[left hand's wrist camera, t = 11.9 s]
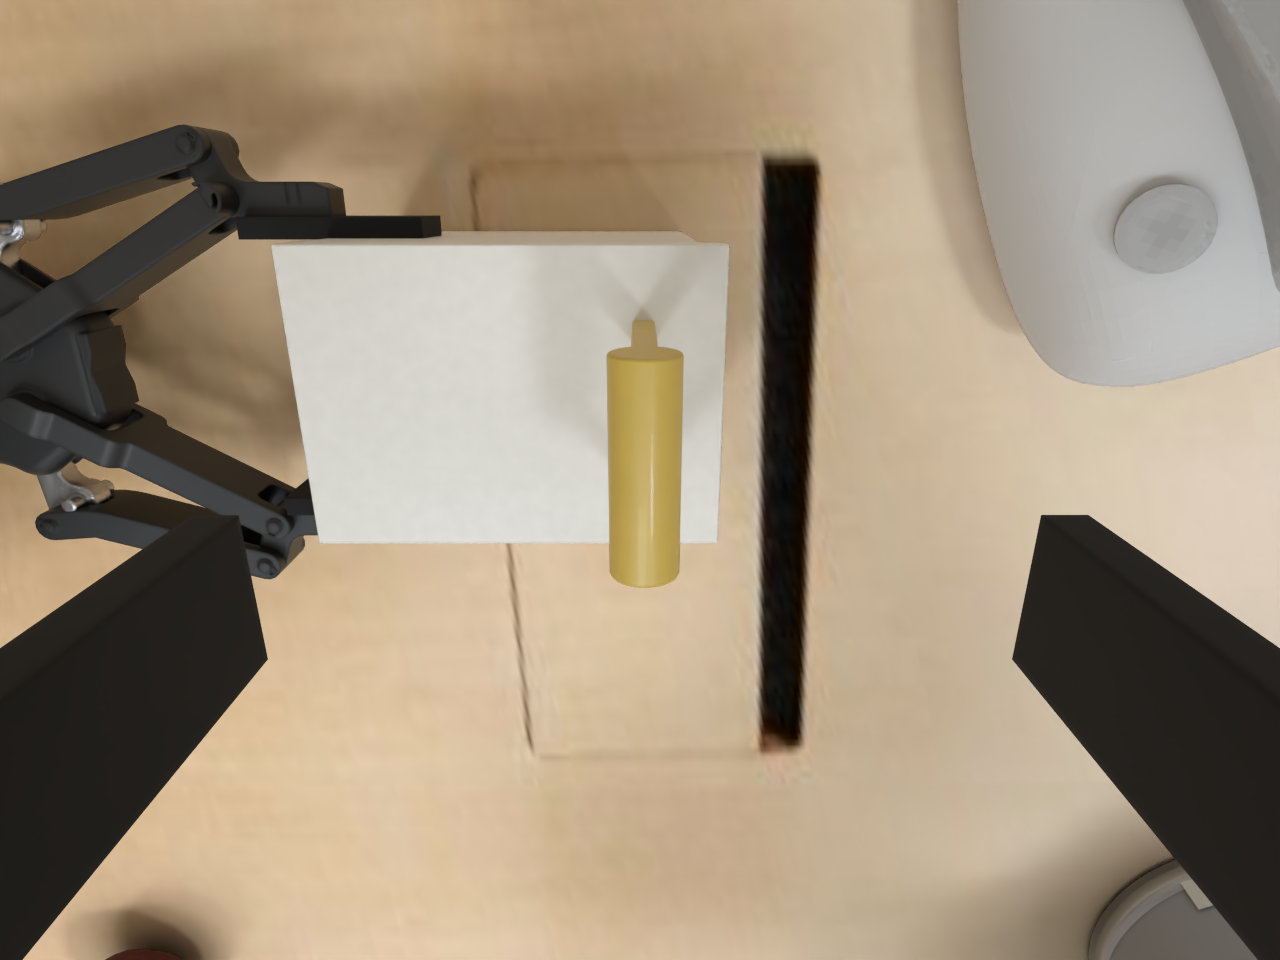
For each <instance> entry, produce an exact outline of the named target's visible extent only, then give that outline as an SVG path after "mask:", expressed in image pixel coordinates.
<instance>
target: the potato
mask: <svg viewBox="0 0 1280 960" xmlns="http://www.w3.org/2000/svg"><path fill="white" fill-rule="evenodd" d="M106 960H182V959H180V958H179V957H177V956H176V955H174V954H172V953H168V952H163V951H158V950H153V949H134V950H127V951H124V952H121V953H118V954H115V955H113V956H111V957H109V958H108V959H106Z"/></svg>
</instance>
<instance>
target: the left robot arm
mask: <svg viewBox="0 0 1280 960" xmlns="http://www.w3.org/2000/svg"><path fill="white" fill-rule="evenodd" d="M267 660H268V658H267V653H266V648H265V643H264V638H263V633H262V628H261V623H260V618H259V613H258V608H257V603H256V598H255V594H254V589H253V584H252V579H251V574H250V569H249V564H248V559H247V554H246V549H245V544H244V539H243V534H242V529H241V524H240V519H239V515H191V516H190V517H188V518H187V519H186V520H184V521H183V522H181V523H180V524H178V525H177V526H175V527H174V528H173V529H171V530H170V531H168V532H167V533H165V534H164V535H163V536H161V537H160V538H158V539H157V540H155V541H154V542H152V543H151V544H150V545H148V546H147V547H145V548H144V549H142V550H141V551H140V552H138V553H137V554H135V555H134V556H132V557H131V558H129V559H128V560H127V561H125V562H124V563H122V564H121V565H119V566H118V567H117V568H115V569H114V570H112V571H111V572H109V573H108V574H106V575H105V576H104V577H102V578H101V579H99V580H98V581H96V582H95V583H93V584H92V585H91V586H89V587H88V588H86V589H85V590H83V591H82V592H81V593H79V594H78V595H76V596H75V597H73V598H72V599H70V600H69V601H68V602H66V603H65V604H63V605H62V606H60V607H59V608H58V609H56V610H55V611H53V612H52V613H50V614H49V615H47V616H46V617H45V618H43V619H42V620H40V621H39V622H37V623H36V624H35V625H33V626H32V627H30V628H29V629H27V630H26V631H24V632H23V633H22V634H20V635H19V636H17V637H16V638H14V639H13V640H12V641H10V642H9V643H7V644H6V645H4V646H3V647H1V648H0V960H23V958H24V957H25V956H26V955H27V953H28V952H29V951H30V950H31V949H32V947H33V946H34V945H35V944H36V942H37V941H38V940H39V939H40V937H41V936H42V935H43V934H44V933H45V931H46V930H47V929H48V928H49V926H50V925H51V924H52V923H53V922H54V920H55V919H56V918H57V917H58V915H59V914H60V913H61V912H62V911H63V909H64V908H65V907H66V906H67V904H68V903H69V902H70V901H71V900H72V898H73V897H74V896H75V895H76V893H77V892H78V891H79V890H80V889H81V887H82V886H83V885H84V884H85V882H86V881H87V880H88V879H89V878H90V876H91V875H92V874H93V873H94V871H95V870H96V869H97V868H98V866H99V865H100V864H101V863H102V862H103V860H104V859H105V858H106V857H107V855H108V854H109V853H110V852H111V851H112V849H113V848H114V847H115V846H116V844H117V843H118V842H119V841H120V840H121V838H122V837H123V836H124V835H125V833H126V832H127V831H128V830H129V829H130V827H131V826H132V825H133V824H134V822H135V821H136V820H137V819H138V818H139V816H140V815H141V814H142V813H143V811H144V810H145V809H146V808H147V807H148V805H149V804H150V803H151V802H152V800H153V799H154V798H155V797H156V795H157V794H158V793H159V792H160V791H161V789H162V788H163V787H164V786H165V784H166V783H167V782H168V781H169V780H170V778H171V777H172V776H173V775H174V773H175V772H176V771H177V770H178V769H179V767H180V766H181V765H182V764H183V762H184V761H185V760H186V759H187V758H188V756H189V755H190V754H191V753H192V751H193V750H194V749H195V748H196V747H197V745H198V744H199V743H200V742H201V740H202V739H203V738H204V737H205V735H206V734H207V733H208V732H209V731H210V729H211V728H212V727H213V726H214V724H215V723H216V722H217V721H218V720H219V718H220V717H221V716H222V715H223V713H224V712H225V711H226V710H227V709H228V707H229V706H230V705H231V704H232V702H233V701H234V700H235V699H236V698H237V696H238V695H239V694H240V693H241V691H242V690H243V689H244V688H245V687H246V685H247V684H248V683H249V682H250V680H251V679H252V678H253V677H254V676H255V674H256V673H257V672H258V671H259V669H260V668H261V667H262V666H263V664H264V663H265V662H266V661H267ZM1012 660H1013V661H1014V662H1015V663H1016V664H1017V666H1018V667H1019V668H1020V669H1021V671H1022V672H1023V673H1024V674H1025V676H1026V677H1027V678H1028V679H1029V680H1030V682H1031V683H1032V684H1033V685H1034V687H1035V688H1036V689H1037V690H1038V691H1039V693H1040V694H1041V695H1042V696H1043V698H1044V699H1045V700H1046V701H1047V702H1048V704H1049V705H1050V706H1051V707H1052V709H1053V710H1054V711H1055V712H1056V713H1057V715H1058V716H1059V717H1060V718H1061V720H1062V721H1063V722H1064V723H1065V724H1066V726H1067V727H1068V728H1069V729H1070V731H1071V732H1072V733H1073V734H1074V735H1075V737H1076V738H1077V739H1078V740H1079V742H1080V743H1081V744H1082V745H1083V747H1084V748H1085V749H1086V750H1087V751H1088V753H1089V754H1090V755H1091V756H1092V758H1093V759H1094V760H1095V761H1096V762H1097V764H1098V765H1099V766H1100V767H1101V769H1102V770H1103V771H1104V772H1105V773H1106V775H1107V776H1108V777H1109V778H1110V780H1111V781H1112V782H1113V783H1114V784H1115V786H1116V787H1117V788H1118V789H1119V791H1120V792H1121V793H1122V794H1123V795H1124V797H1125V798H1126V799H1127V800H1128V802H1129V803H1130V804H1131V805H1132V807H1133V808H1134V809H1135V810H1136V811H1137V813H1138V814H1139V815H1140V816H1141V818H1142V819H1143V820H1144V821H1145V822H1146V824H1147V825H1148V826H1149V827H1150V829H1151V830H1152V831H1153V832H1154V833H1155V835H1156V836H1157V837H1158V838H1159V840H1160V841H1161V842H1162V843H1163V844H1164V846H1165V847H1166V848H1167V849H1168V851H1169V852H1170V853H1171V854H1172V855H1173V857H1174V858H1175V859H1176V860H1174V861H1171V862H1169V863H1167V864H1164V865H1162V866H1160V867H1158V868H1156V869H1154V870H1152V871H1151V872H1149V873H1147V874H1145V875H1144V876H1142V877H1141V878H1139V879H1138V880H1136V881H1135V882H1133V883H1132V884H1131V885H1130V886H1128V887H1127V888H1126V889H1125V890H1123V891H1122V892H1121V893H1120V894H1119V895H1118V896H1117V897H1116V898H1115V899H1114V900H1113V901H1112V902H1111V903H1110V904H1109V906H1108V907H1107V908H1106V910H1105V911H1104V912H1103V914H1102V915H1101V917H1100V919H1099V920H1098V922H1097V924H1096V926H1095V928H1094V931H1093V933H1092V936H1091V940H1090V945H1089V960H1280V648H1279V647H1277V646H1276V645H1274V644H1273V643H1271V642H1270V641H1268V640H1267V639H1266V638H1264V637H1263V636H1261V635H1260V634H1258V633H1257V632H1256V631H1254V630H1253V629H1251V628H1250V627H1248V626H1247V625H1245V624H1244V623H1243V622H1241V621H1240V620H1238V619H1237V618H1235V617H1234V616H1233V615H1231V614H1230V613H1228V612H1227V611H1225V610H1224V609H1222V608H1221V607H1220V606H1218V605H1217V604H1215V603H1214V602H1212V601H1211V600H1210V599H1208V598H1207V597H1205V596H1204V595H1202V594H1201V593H1199V592H1198V591H1197V590H1195V589H1194V588H1192V587H1191V586H1189V585H1188V584H1187V583H1185V582H1184V581H1182V580H1181V579H1179V578H1178V577H1176V576H1175V575H1174V574H1172V573H1171V572H1169V571H1168V570H1166V569H1165V568H1163V567H1162V566H1161V565H1159V564H1158V563H1156V562H1155V561H1153V560H1152V559H1151V558H1149V557H1148V556H1146V555H1145V554H1143V553H1142V552H1140V551H1139V550H1138V549H1136V548H1135V547H1133V546H1132V545H1130V544H1129V543H1128V542H1126V541H1125V540H1123V539H1122V538H1120V537H1119V536H1117V535H1116V534H1115V533H1113V532H1112V531H1110V530H1109V529H1107V528H1106V527H1105V526H1103V525H1102V524H1100V523H1099V522H1097V521H1096V520H1094V519H1093V518H1092V517H1090V516H1089V515H1041V519H1040V524H1039V529H1038V534H1037V539H1036V544H1035V549H1034V554H1033V559H1032V564H1031V569H1030V574H1029V579H1028V584H1027V589H1026V594H1025V598H1024V603H1023V608H1022V613H1021V618H1020V623H1019V628H1018V633H1017V638H1016V643H1015V648H1014V653H1013V658H1012Z"/></svg>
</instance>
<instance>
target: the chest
mask: <svg viewBox="0 0 1280 960" xmlns="http://www.w3.org/2000/svg"><path fill="white" fill-rule="evenodd" d="M441 232H442V236H435V237H429V238H327V239H317V240H308V241H298V242H291V243H698V242H696V241H695V240H693V239H692V238H690V237H689V236H687V235H686V234H684V233H682V232H680V231H441Z"/></svg>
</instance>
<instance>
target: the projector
mask: <svg viewBox="0 0 1280 960" xmlns="http://www.w3.org/2000/svg"><path fill="white" fill-rule="evenodd" d="M958 33H959V47H960V62H961V75H962V84H963V94H964V103H965V111H966V118H967V124H968V131H969V138H970V144H971V151H972V157H973V162H974V167H975V172H976V177H977V182H978V187H979V192H980V197H981V201H982V206H983V210H984V214H985V218H986V222H987V227H988V231H989V235H990V238H991V242H992V246H993V249H994V253H995V256H996V260H997V264H998V267H999V270H1000V273H1001V276H1002V279H1003V282H1004V285H1005V289H1006V292H1007V294H1008V297H1009V300H1010V302H1011V305H1012V307H1013V310H1014V312H1015V315H1016V317H1017V319H1018V321H1019V323H1020V326H1021V328H1022V330H1023V332H1024V333H1025V335H1026V337H1027V339H1028V341H1029V342H1030V344H1031V346H1032V347H1033V348H1034V350H1035V351H1036V352H1037V354H1038V355H1039V356H1040V358H1041V359H1042V360H1043V361H1044V362H1045V363H1046V364H1047V365H1048V366H1049V367H1050V368H1051V369H1053V370H1054V371H1056V372H1057V373H1059V374H1061V375H1062V376H1064V377H1066V378H1068V379H1071V380H1074V381H1077V382H1080V383H1084V384H1091V385H1097V386H1110V387H1130V386H1141V385H1149V384H1154V383H1160V382H1164V381H1168V380H1173V379H1177V378H1181V377H1185V376H1189V375H1192V374H1196V373H1199V372H1203V371H1207V370H1210V369H1214V368H1217V367H1220V366H1223V365H1226V364H1229V363H1233V362H1236V361H1239V360H1242V359H1245V358H1248V357H1251V356H1253V355H1256V354H1259V353H1262V352H1265V351H1268V350H1271V349H1274V348H1277V347H1279V346H1280V0H958Z"/></svg>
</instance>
